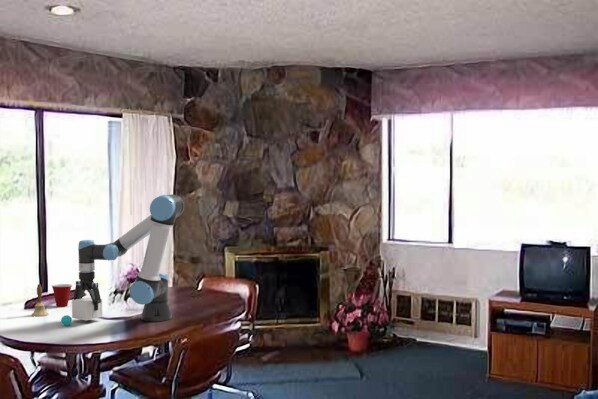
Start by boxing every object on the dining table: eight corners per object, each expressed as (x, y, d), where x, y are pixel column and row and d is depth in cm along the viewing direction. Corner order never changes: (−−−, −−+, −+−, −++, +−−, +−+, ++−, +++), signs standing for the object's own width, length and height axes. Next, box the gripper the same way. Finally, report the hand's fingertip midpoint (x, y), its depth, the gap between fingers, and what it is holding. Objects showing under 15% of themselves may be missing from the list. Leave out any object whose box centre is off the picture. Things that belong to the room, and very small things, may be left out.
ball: (63, 322, 332) (69, 328, 335) (69, 314, 335) (75, 320, 338) (57, 321, 335) (63, 326, 338) (63, 312, 338) (69, 318, 341)
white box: (102, 316, 348) (102, 299, 348) (86, 320, 339) (85, 302, 339) (88, 314, 354) (88, 297, 353) (72, 317, 345) (71, 300, 345)
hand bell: (42, 317, 355) (42, 286, 354) (28, 316, 357) (27, 285, 356) (51, 313, 363) (51, 283, 362) (37, 312, 365) (37, 282, 364)
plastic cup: (75, 304, 387) (75, 282, 387) (67, 308, 377) (67, 286, 376) (57, 303, 388) (56, 282, 388) (48, 307, 378) (47, 285, 377)
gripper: (65, 270, 348) (66, 314, 349) (96, 274, 336) (97, 319, 337) (77, 268, 355) (78, 311, 356) (108, 272, 342) (109, 316, 344)
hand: (87, 315), depth 347 cm, fingers closed on white box, 10 cm apart
